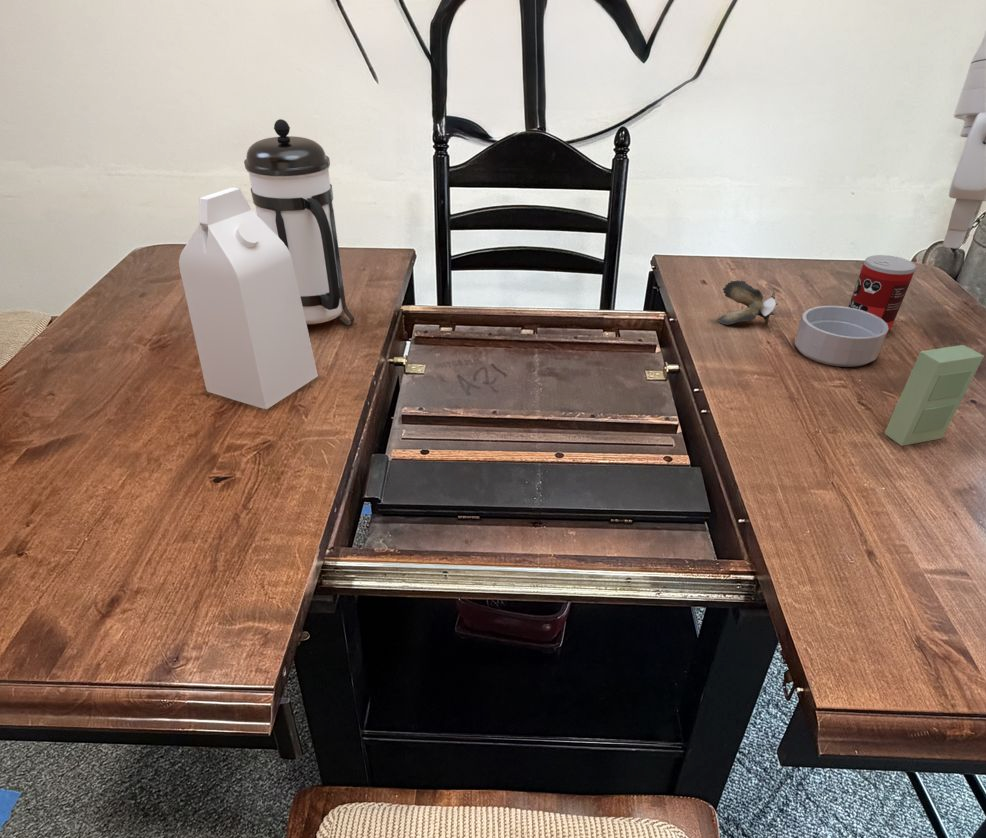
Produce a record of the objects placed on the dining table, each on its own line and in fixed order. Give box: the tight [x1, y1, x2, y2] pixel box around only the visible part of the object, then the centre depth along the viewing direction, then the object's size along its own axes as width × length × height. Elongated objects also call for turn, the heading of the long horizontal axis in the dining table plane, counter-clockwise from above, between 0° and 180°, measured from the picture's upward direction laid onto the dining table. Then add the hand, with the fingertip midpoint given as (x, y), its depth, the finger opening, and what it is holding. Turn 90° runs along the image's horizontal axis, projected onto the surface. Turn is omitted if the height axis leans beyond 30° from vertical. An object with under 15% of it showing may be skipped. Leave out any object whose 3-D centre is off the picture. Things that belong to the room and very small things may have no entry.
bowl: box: [794, 305, 890, 368], centre depth 117 cm, size 13×13×5 cm
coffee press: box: [243, 118, 355, 327], centre depth 115 cm, size 17×16×30 cm
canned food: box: [847, 254, 917, 334], centre depth 122 cm, size 8×8×11 cm
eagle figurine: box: [716, 279, 779, 325], centre depth 125 cm, size 8×7×9 cm
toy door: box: [883, 344, 985, 447], centre depth 95 cm, size 4×7×12 cm, turn 108°
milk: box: [178, 186, 319, 410], centre depth 99 cm, size 12×12×26 cm
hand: (953, 246), depth 81 cm, fingers open, 8 cm apart
